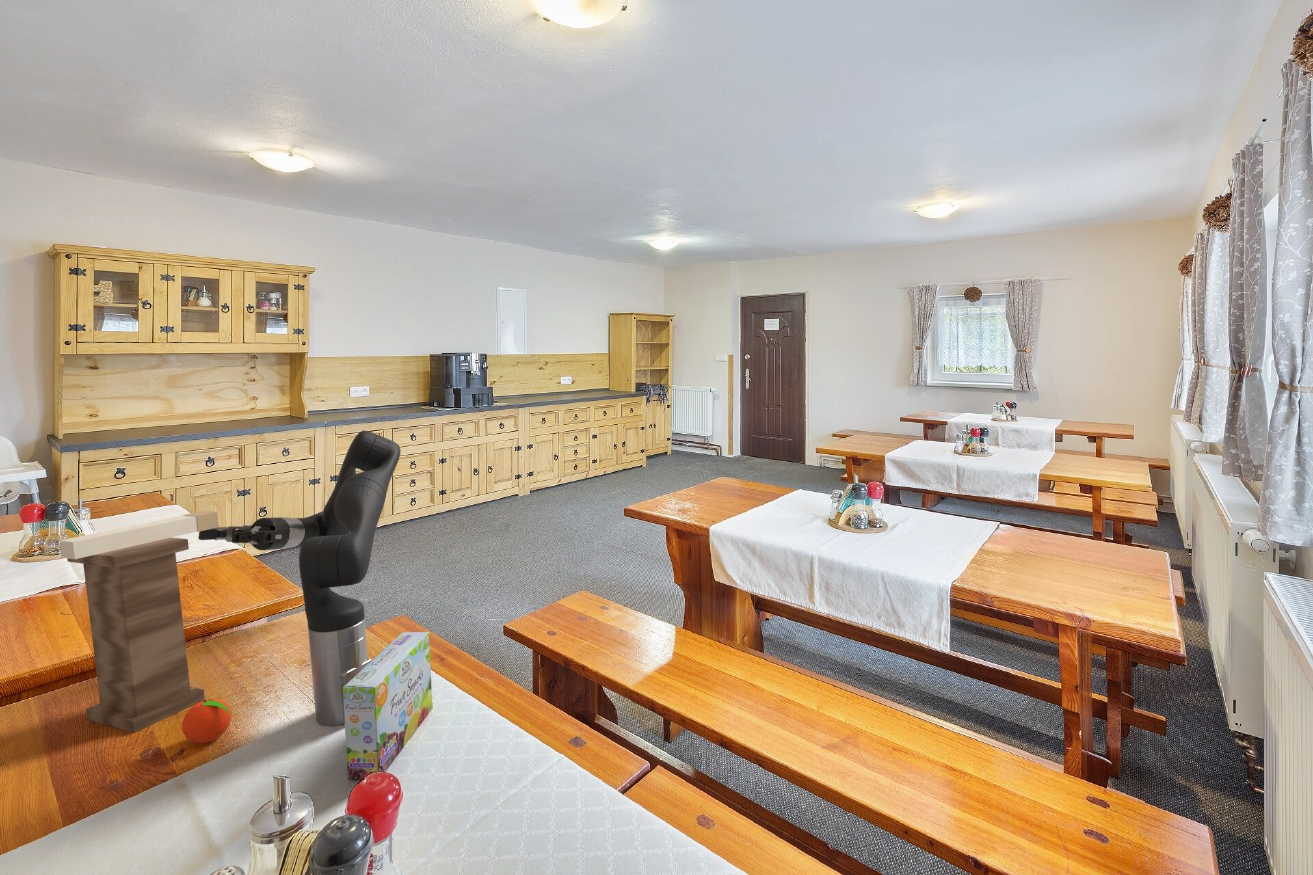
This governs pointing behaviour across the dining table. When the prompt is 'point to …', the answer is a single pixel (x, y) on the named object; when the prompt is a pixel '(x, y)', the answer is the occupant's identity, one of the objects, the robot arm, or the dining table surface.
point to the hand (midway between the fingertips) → (216, 536)
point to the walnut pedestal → (138, 634)
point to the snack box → (387, 704)
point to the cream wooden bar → (137, 534)
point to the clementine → (206, 721)
